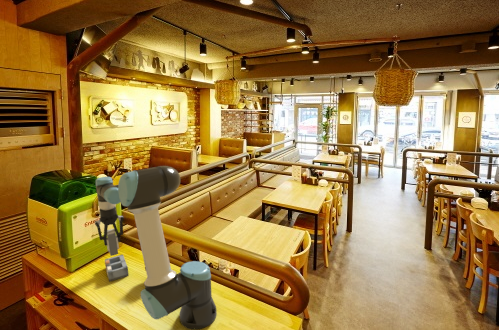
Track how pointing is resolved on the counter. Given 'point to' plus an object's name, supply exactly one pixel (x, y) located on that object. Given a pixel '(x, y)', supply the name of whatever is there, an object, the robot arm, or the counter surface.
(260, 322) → the counter surface
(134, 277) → the counter surface
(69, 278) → the counter surface
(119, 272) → the port box
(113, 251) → the plug
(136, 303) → the counter surface
